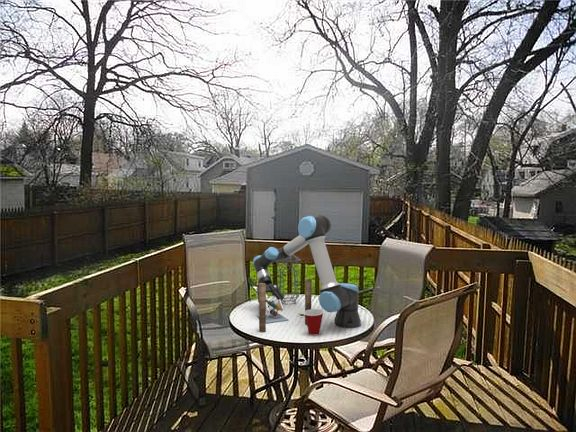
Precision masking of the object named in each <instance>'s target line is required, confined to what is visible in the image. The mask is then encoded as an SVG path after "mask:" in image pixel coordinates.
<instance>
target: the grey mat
mask: <svg viewBox="0 0 576 432" xmlns="http://www.w3.org/2000/svg"><path fill="white" fill-rule="evenodd" d="M270 315H271V314H270V313H269V314H266V325H267V324H274V323H282V322H287V321H289V318H288V317H287V318H286V317H285V316H283V314H280V312H278V314H277V316H276V317H275V316H273V315H271V316H270ZM267 316H270V317H267ZM257 318H258V319H259V315H257Z"/></svg>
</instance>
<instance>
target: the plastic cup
mask: <svg viewBox="0 0 576 432" xmlns="http://www.w3.org/2000/svg"><path fill="white" fill-rule="evenodd" d="M324 312H325V310H324V309H320V308H311V310H307V311H305V310H304V311H303V315H304V318H305V317H306V321H307V325H306V326H307V331H308V334H309V335H311V336H319V334H320V332H321V327H322V321H323V315H324Z"/></svg>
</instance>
